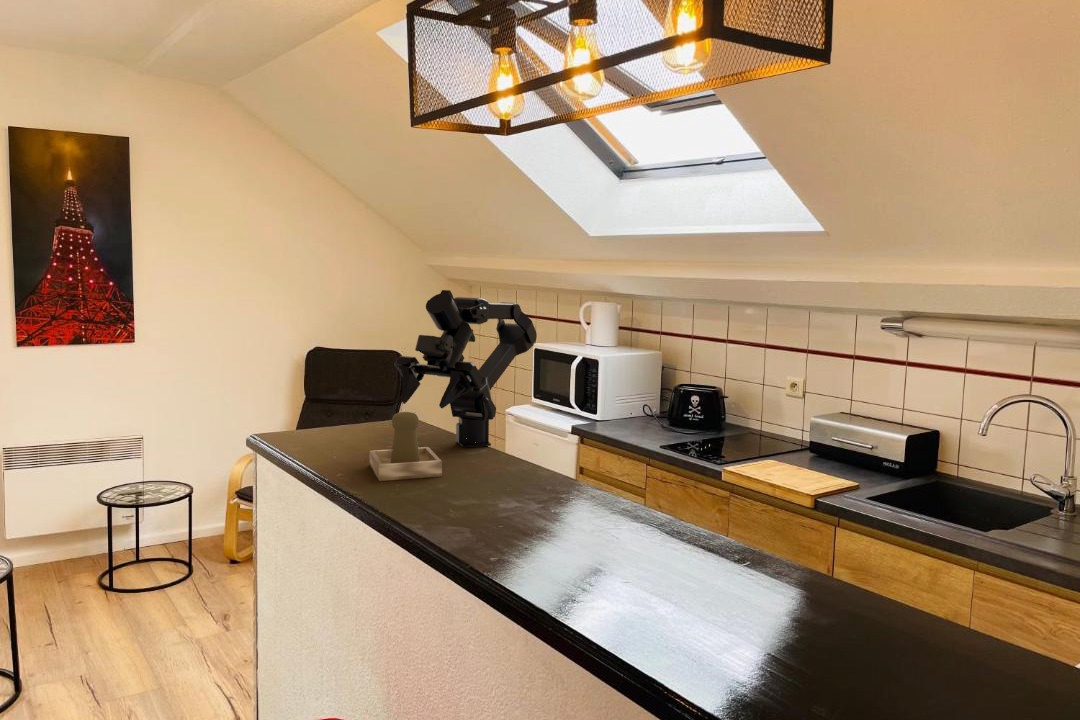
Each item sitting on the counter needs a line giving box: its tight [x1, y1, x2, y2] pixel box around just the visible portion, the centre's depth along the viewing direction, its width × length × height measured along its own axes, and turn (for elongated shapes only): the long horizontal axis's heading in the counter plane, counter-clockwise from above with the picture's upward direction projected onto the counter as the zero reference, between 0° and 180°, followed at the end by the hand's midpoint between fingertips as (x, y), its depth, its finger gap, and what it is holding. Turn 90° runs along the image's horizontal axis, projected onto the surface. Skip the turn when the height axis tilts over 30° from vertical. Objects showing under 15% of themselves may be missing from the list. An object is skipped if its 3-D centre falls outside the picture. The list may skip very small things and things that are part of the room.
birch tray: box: [369, 446, 443, 482], centre depth 166 cm, size 12×12×3 cm
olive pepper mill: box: [390, 411, 420, 464], centre depth 165 cm, size 6×6×11 cm
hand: (421, 404), depth 169 cm, fingers open, 9 cm apart
